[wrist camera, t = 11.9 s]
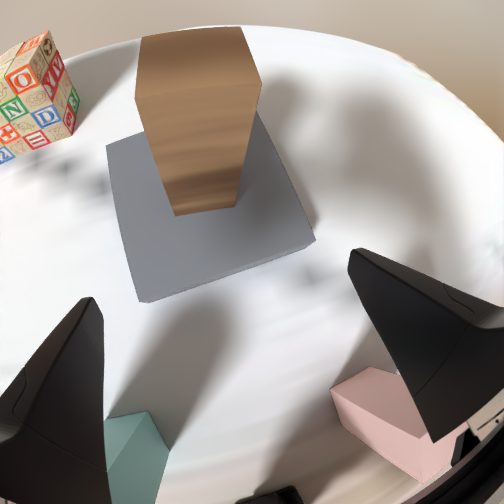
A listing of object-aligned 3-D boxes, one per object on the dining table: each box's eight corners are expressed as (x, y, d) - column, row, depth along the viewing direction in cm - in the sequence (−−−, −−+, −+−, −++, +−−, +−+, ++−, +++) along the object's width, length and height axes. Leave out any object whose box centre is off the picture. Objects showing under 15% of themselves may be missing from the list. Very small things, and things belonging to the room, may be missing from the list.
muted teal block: (169, 451, 18) (143, 544, 6) (128, 458, 17) (82, 538, 5) (147, 410, 19) (95, 489, 7) (105, 419, 18) (37, 485, 6)
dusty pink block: (379, 402, 22) (470, 440, 9) (341, 425, 21) (423, 483, 9) (369, 366, 22) (469, 391, 10) (329, 388, 21) (419, 439, 9)
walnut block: (234, 207, 20) (262, 83, 8) (175, 216, 20) (134, 98, 8) (224, 157, 21) (240, 26, 9) (169, 165, 20) (141, 37, 8)
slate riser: (304, 248, 24) (316, 240, 21) (148, 303, 21) (139, 301, 18) (248, 123, 26) (252, 104, 23) (115, 161, 23) (105, 145, 20)
